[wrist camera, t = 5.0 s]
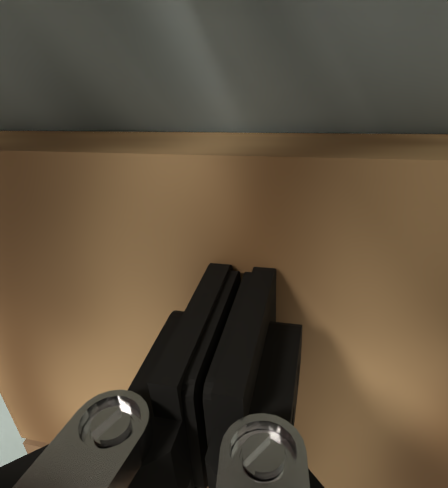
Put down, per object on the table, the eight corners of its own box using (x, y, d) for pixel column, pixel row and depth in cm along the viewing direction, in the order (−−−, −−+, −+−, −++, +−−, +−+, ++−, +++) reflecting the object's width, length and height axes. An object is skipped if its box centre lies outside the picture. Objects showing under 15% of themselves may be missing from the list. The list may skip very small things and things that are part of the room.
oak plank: (822, 137, 7) (944, 171, 6) (578, 504, 13) (607, 567, 12) (-60, 130, 12) (-117, 147, 11) (48, 401, 18) (21, 437, 17)
